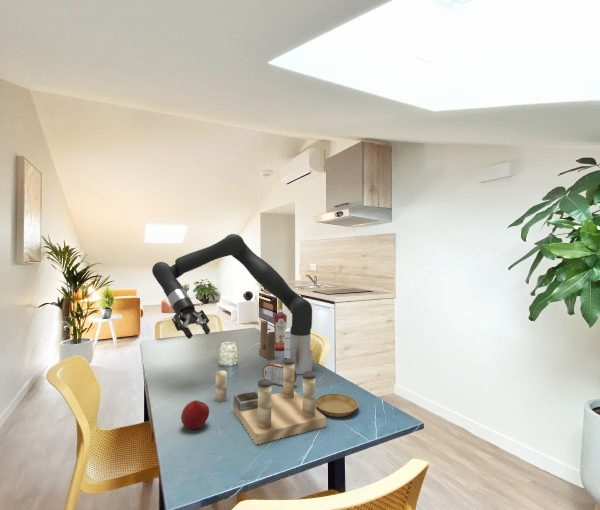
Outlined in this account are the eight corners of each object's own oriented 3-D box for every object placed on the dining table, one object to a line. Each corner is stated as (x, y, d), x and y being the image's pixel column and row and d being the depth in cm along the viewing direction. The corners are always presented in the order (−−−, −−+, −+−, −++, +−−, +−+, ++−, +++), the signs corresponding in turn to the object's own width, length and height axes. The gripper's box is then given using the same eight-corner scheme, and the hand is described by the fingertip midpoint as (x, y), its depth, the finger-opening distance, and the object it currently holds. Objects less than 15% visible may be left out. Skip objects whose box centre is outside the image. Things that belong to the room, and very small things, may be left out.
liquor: (285, 347, 193) (286, 298, 193) (287, 350, 186) (287, 300, 186) (272, 347, 192) (273, 298, 192) (274, 351, 185) (274, 300, 185)
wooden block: (268, 360, 169) (268, 324, 169) (258, 354, 178) (259, 320, 178) (274, 359, 171) (275, 323, 171) (265, 353, 180) (265, 320, 180)
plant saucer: (362, 405, 120) (362, 398, 120) (351, 424, 107) (351, 416, 107) (323, 397, 127) (323, 390, 127) (308, 414, 113) (308, 407, 113)
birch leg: (224, 396, 126) (225, 369, 126) (227, 400, 122) (228, 373, 122) (214, 398, 124) (214, 371, 124) (216, 402, 121) (217, 374, 121)
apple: (201, 435, 99) (202, 408, 99) (176, 432, 101) (176, 405, 101) (212, 422, 107) (213, 397, 107) (189, 419, 108) (189, 395, 108)
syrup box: (295, 359, 171) (295, 331, 171) (283, 358, 172) (284, 330, 172) (297, 356, 176) (297, 328, 176) (286, 355, 178) (286, 328, 178)
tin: (297, 386, 137) (297, 365, 137) (293, 389, 134) (293, 368, 134) (265, 380, 143) (265, 360, 143) (261, 382, 140) (261, 362, 140)
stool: (293, 398, 125) (293, 355, 125) (325, 426, 105) (326, 376, 105) (232, 410, 115) (233, 364, 115) (256, 445, 94) (256, 389, 94)
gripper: (170, 298, 128) (189, 332, 122) (199, 295, 140) (218, 326, 134) (161, 311, 131) (179, 345, 125) (190, 306, 143) (209, 337, 137)
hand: (199, 335), depth 130 cm, fingers open, 8 cm apart
